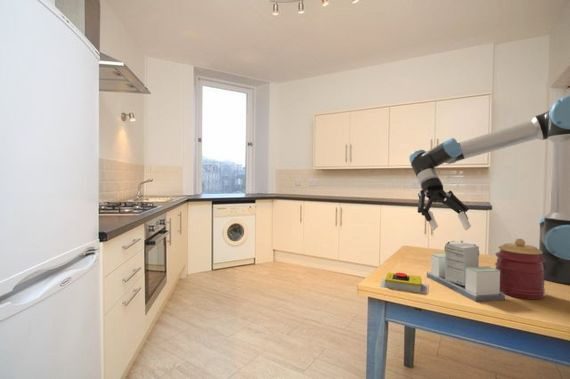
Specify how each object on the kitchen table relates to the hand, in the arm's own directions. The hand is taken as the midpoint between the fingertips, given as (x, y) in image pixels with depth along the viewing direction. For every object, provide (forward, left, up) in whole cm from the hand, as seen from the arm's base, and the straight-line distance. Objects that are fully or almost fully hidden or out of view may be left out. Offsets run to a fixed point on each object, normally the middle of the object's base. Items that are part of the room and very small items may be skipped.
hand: (451, 228), depth 111 cm
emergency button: (+10, +18, -20) cm, 29 cm away
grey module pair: (-5, +6, -18) cm, 19 cm away
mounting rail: (-5, +6, -19) cm, 20 cm away
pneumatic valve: (0, -17, -19) cm, 26 cm away
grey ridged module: (-5, +6, -17) cm, 19 cm away
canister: (-20, -1, -19) cm, 28 cm away
